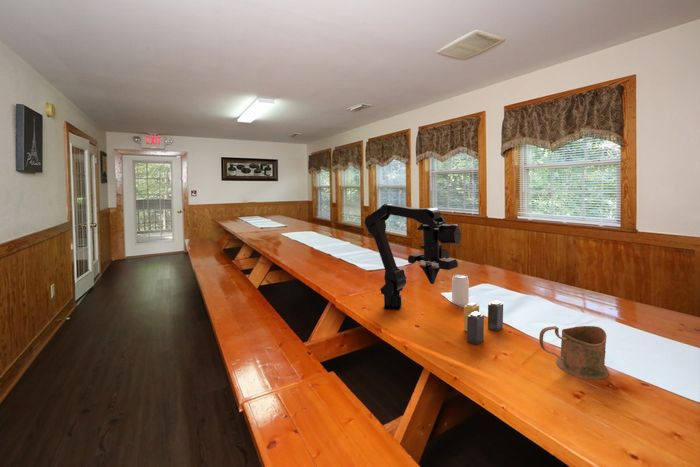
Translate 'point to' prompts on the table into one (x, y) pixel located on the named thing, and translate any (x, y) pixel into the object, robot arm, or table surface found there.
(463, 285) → the can
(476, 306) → the tan faceted column
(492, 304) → the grey columns
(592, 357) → the mug
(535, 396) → the table surface
